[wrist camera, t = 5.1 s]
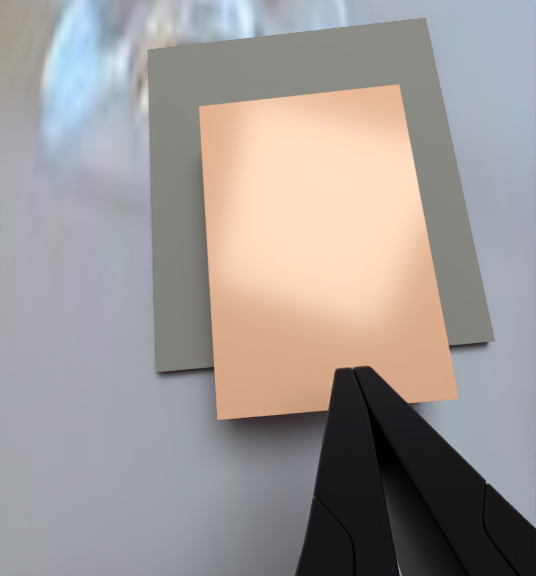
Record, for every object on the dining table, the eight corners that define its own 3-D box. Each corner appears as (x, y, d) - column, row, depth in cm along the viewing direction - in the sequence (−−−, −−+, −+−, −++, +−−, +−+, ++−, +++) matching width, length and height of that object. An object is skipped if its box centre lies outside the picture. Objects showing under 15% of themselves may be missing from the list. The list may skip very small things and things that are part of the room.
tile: (458, 398, 12) (399, 84, 14) (217, 419, 12) (199, 106, 15) (427, 392, 14) (381, 126, 17) (229, 409, 15) (211, 145, 17)
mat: (488, 341, 15) (495, 341, 15) (160, 371, 16) (156, 371, 15) (421, 26, 18) (425, 17, 18) (151, 57, 19) (147, 49, 18)
